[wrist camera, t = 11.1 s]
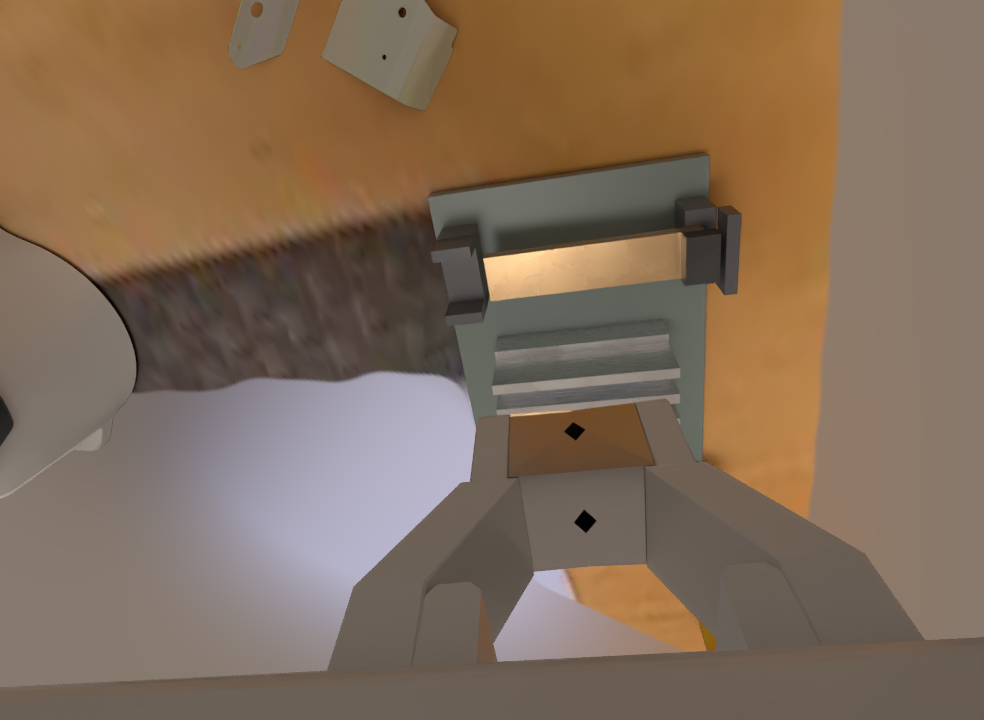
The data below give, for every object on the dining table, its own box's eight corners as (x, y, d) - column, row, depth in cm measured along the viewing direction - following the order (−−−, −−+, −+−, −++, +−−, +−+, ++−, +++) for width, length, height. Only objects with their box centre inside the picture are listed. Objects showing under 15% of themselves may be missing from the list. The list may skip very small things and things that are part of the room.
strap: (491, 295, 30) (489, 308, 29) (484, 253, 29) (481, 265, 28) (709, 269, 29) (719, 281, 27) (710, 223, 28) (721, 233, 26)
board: (499, 526, 44) (498, 535, 43) (430, 193, 32) (427, 197, 31) (697, 515, 41) (700, 525, 41) (704, 152, 29) (709, 155, 28)
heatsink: (514, 440, 38) (511, 489, 34) (496, 337, 34) (490, 378, 30) (663, 428, 37) (680, 478, 32) (662, 319, 33) (680, 359, 29)
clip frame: (501, 518, 42) (497, 562, 38) (442, 228, 31) (429, 251, 28) (706, 506, 40) (723, 552, 36) (716, 189, 29) (741, 209, 26)
